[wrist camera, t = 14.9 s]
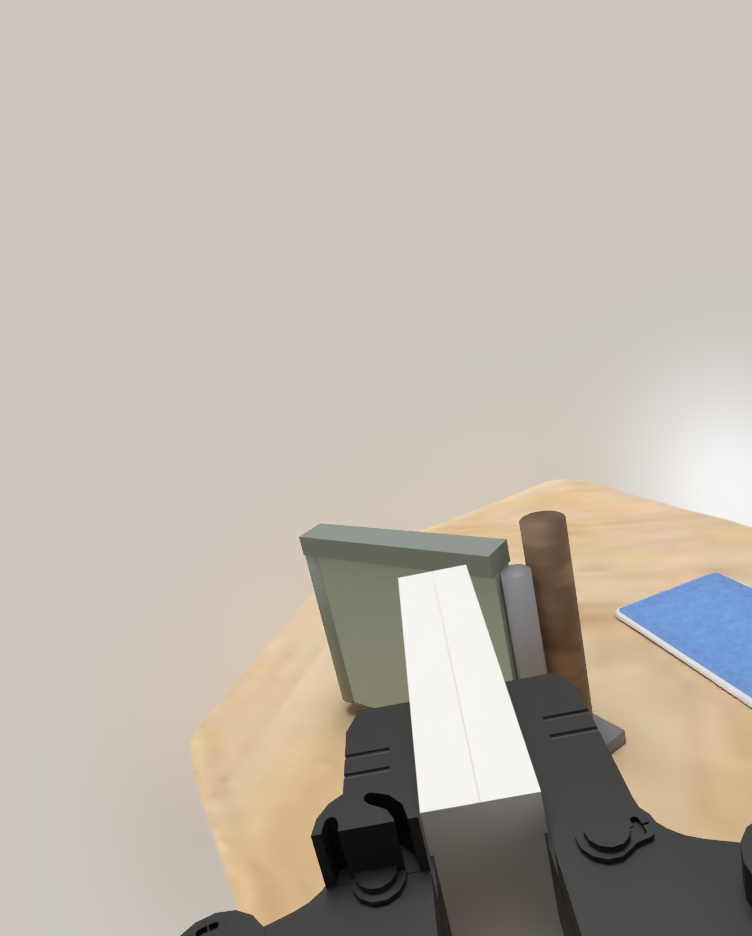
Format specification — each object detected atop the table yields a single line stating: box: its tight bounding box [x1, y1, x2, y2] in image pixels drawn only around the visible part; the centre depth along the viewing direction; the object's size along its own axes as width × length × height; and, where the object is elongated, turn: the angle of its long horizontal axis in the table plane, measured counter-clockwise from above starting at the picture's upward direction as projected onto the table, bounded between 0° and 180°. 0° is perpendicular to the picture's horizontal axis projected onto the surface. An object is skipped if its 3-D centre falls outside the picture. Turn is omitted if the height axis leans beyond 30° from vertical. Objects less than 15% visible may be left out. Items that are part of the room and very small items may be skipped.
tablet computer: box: [615, 573, 752, 708], centre depth 56 cm, size 19×13×1 cm, turn 18°
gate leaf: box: [299, 524, 547, 708], centre depth 50 cm, size 20×3×16 cm, turn 53°
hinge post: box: [519, 511, 626, 754], centre depth 46 cm, size 5×5×18 cm
